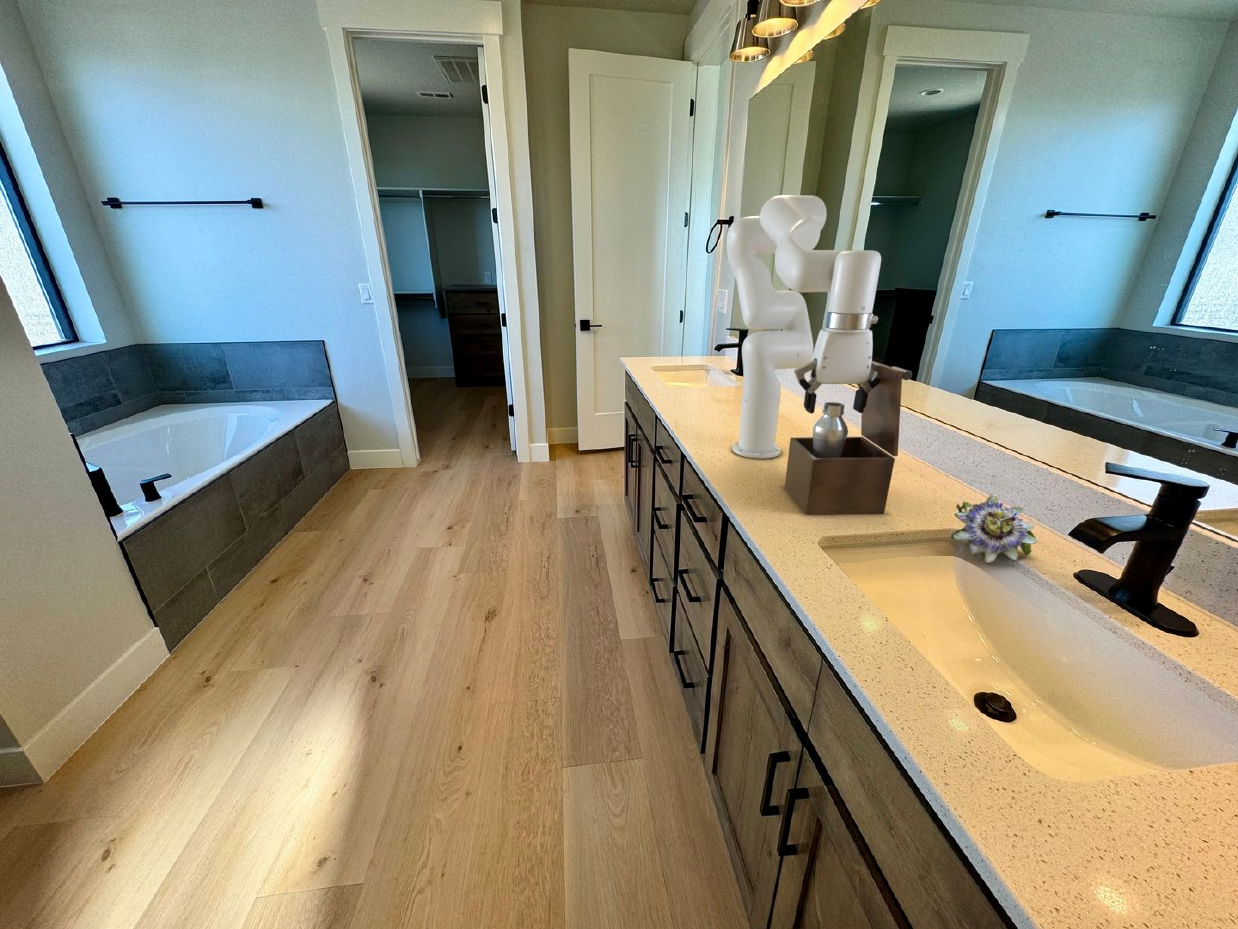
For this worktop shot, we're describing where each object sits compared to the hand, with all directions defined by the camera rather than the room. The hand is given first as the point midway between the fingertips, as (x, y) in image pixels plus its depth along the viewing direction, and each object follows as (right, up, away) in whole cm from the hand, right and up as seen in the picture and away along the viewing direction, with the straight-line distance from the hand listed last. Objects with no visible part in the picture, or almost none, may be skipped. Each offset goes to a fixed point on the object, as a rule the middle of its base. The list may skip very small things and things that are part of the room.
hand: (833, 411), depth 98 cm
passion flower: (+20, -26, -13) cm, 35 cm away
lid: (+8, +1, -1) cm, 8 cm away
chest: (+2, -18, +7) cm, 19 cm away
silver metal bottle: (0, -18, +6) cm, 19 cm away
